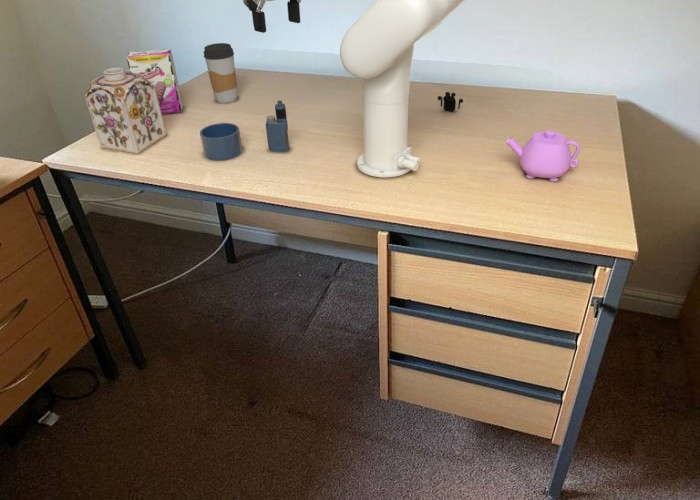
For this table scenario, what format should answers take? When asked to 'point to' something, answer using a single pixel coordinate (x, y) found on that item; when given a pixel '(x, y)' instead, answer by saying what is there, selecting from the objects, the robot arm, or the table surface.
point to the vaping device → (278, 130)
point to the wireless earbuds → (449, 101)
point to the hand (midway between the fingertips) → (277, 26)
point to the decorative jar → (125, 111)
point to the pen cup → (221, 141)
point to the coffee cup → (221, 71)
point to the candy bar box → (159, 76)
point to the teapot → (545, 154)
